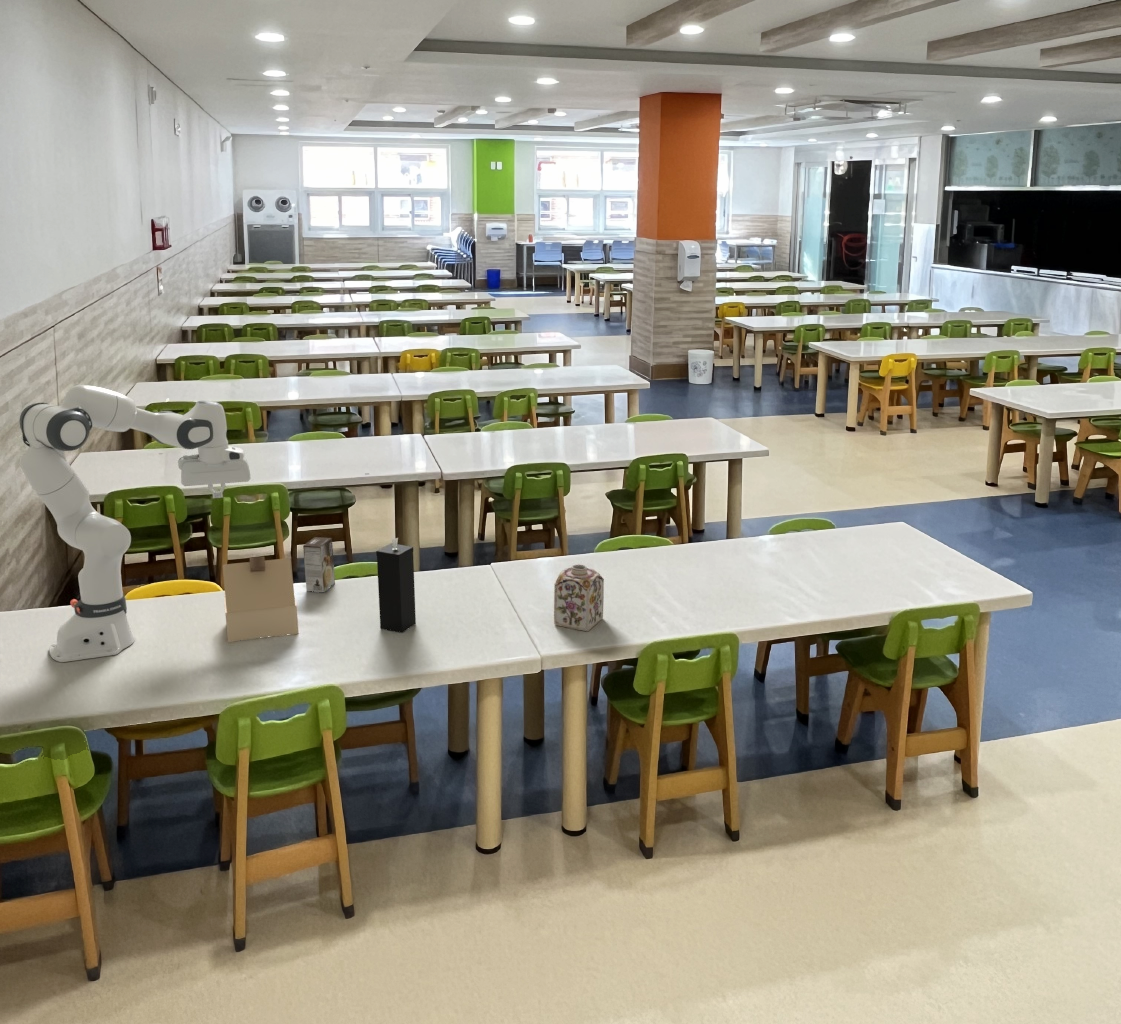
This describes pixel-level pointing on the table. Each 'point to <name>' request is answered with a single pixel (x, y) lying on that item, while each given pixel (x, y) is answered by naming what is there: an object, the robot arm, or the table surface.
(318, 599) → the table surface
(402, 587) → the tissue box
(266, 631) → the carton
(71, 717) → the table surface
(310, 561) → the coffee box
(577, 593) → the decorative jar
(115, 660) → the table surface
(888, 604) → the table surface
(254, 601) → the lid flap
